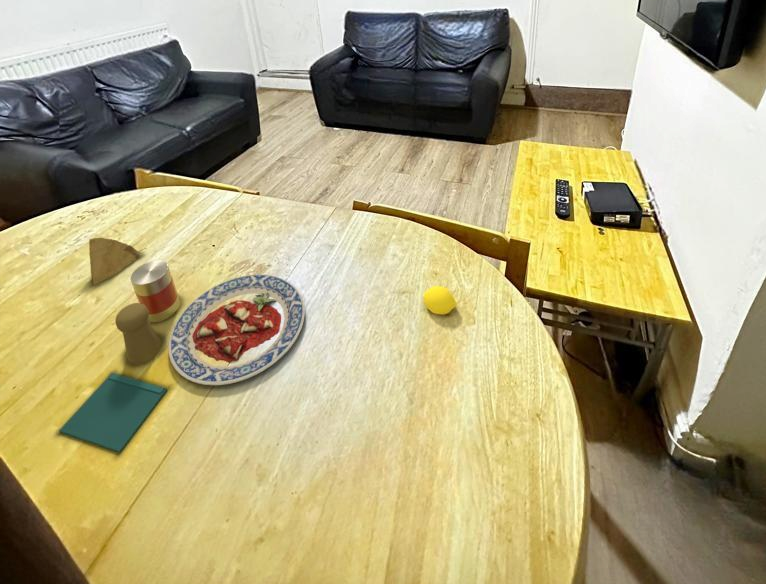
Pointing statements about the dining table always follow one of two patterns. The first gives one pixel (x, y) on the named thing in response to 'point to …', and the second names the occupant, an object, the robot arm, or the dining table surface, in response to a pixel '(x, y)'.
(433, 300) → the lemon
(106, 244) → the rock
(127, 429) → the notepad
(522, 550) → the dining table surface
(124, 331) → the brown pepper mill
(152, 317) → the tin can
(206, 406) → the dining table surface
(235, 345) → the ceramic plate
